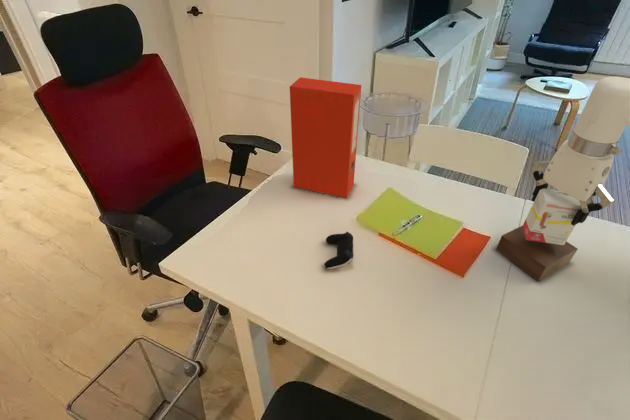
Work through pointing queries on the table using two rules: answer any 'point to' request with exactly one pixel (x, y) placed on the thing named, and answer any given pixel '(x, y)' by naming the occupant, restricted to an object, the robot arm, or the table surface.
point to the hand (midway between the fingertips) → (555, 210)
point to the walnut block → (534, 254)
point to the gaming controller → (340, 250)
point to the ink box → (551, 217)
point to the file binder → (324, 134)
